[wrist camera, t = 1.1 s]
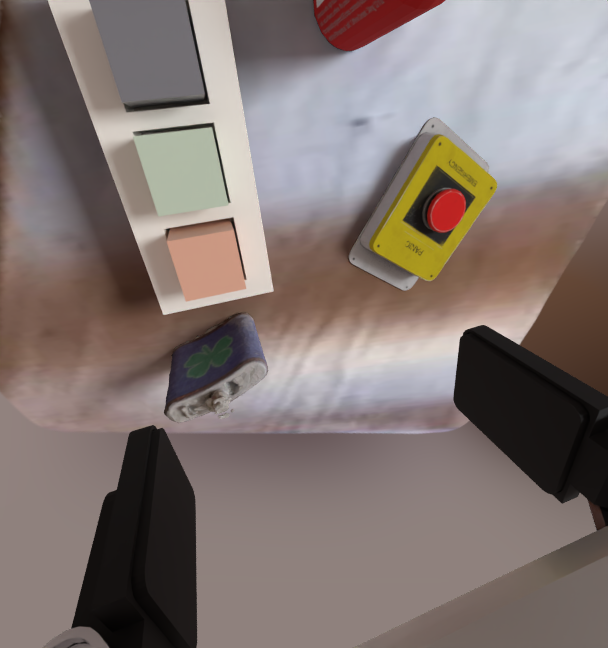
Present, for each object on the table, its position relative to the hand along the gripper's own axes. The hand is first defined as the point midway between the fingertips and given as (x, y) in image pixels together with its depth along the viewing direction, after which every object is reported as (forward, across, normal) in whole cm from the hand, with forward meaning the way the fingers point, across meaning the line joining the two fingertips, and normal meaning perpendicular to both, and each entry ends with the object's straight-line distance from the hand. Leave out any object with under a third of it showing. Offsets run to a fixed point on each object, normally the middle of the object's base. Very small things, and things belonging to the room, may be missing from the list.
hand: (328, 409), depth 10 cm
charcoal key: (+20, +2, -12) cm, 23 cm away
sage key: (+20, +3, -6) cm, 21 cm away
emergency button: (+24, -18, +1) cm, 30 cm away
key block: (+23, +2, -6) cm, 24 cm away
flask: (+24, +5, +10) cm, 26 cm away
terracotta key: (+20, +3, 0) cm, 20 cm away
